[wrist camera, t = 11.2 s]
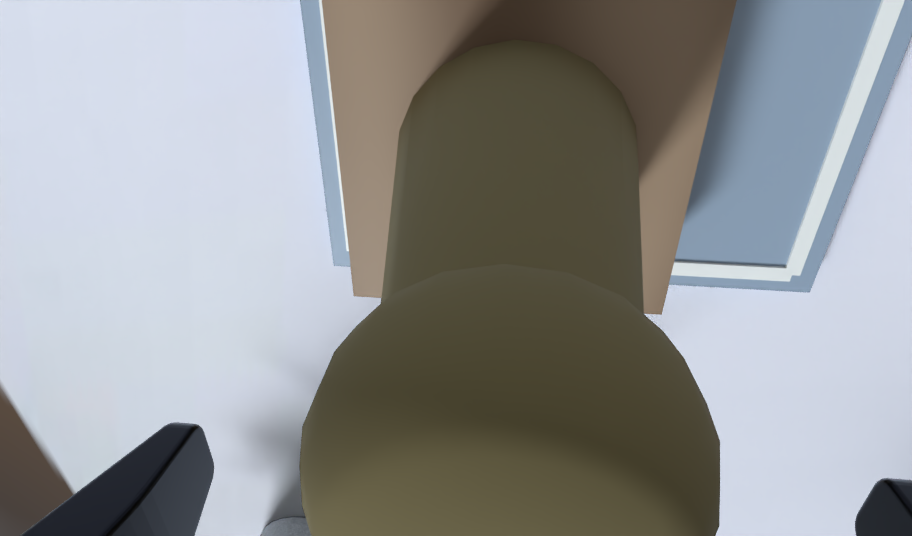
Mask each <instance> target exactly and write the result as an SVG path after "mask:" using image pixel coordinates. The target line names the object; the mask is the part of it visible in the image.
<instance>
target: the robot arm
mask: <svg viewBox="0 0 912 536" xmlns="http://www.w3.org/2000/svg"><path fill="white" fill-rule="evenodd" d="M213 474H214V463H213V459H212V456H211V452H210V449H209V446H208V443H207V440H206V437H205V434H204V431H203V429H202V428H201V427H200V426H199V425H197V424H189V423H170V424H168V425H166V426H164V427H163V428H162V429H160V430H159V431H158V432H156V433H155V434H154V435H152V436H151V437H150V438H148V439H147V440H146V441H144V442H143V443H142V444H140V445H139V446H138V447H136V448H135V449H134V450H132V451H131V452H130V453H128V454H127V455H126V456H124V457H123V458H122V459H121V460H119V461H118V462H117V463H115V464H114V465H113V466H111V467H110V468H109V469H107V470H106V471H105V472H103V473H102V474H101V475H99V476H98V477H97V478H95V479H94V480H93V481H91V482H90V483H89V484H87V485H86V486H85V487H83V488H82V489H81V490H80V491H78V492H77V493H76V494H74V495H73V496H72V497H70V498H69V499H68V500H66V501H65V502H64V503H62V504H61V505H60V506H58V507H57V508H56V509H54V510H53V511H52V512H50V513H49V514H48V515H46V516H45V517H44V518H43V519H41V520H40V521H39V522H37V523H36V524H35V525H33V526H32V527H31V528H29V529H28V530H27V531H25V532H24V533H23V534H21V535H20V536H194V535H195V532H196V529H197V526H198V523H199V520H200V517H201V513H202V510H203V507H204V504H205V501H206V498H207V495H208V492H209V488H210V485H211V482H212V479H213ZM855 531H856V536H912V480H902V479H890V478H884V479H881V480H879V481H878V482H877V483H876V484H875V485H874V487H873V489H872V490H871V492H870V494H869V495H868V497H867V499H866V500H865V502H864V504H863V505H862V507H861V509H860V510H859V512H858V514H857V517H856V521H855Z"/></svg>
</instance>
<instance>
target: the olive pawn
mask: <svg viewBox="0 0 912 536" xmlns="http://www.w3.org/2000/svg"><path fill="white" fill-rule="evenodd" d="M300 481H301V496H302V507H303V510H304V514H305V517H306V520H307V523H308V527H309V530H310V533H311V536H715V535H716V532H717V530H718V527H719V505H720V440H719V438H718V435H717V432H716V429H715V426H714V423H713V420H712V418H711V415H710V412H709V409H708V406H707V403H706V401H705V399H704V397H703V395H702V393H701V391H700V389H699V387H698V385H697V383H696V381H695V379H694V377H693V375H692V373H691V371H690V369H689V367H688V365H687V363H686V361H685V359H684V358H683V356H682V355H681V354H680V353H679V351H678V350H677V349H676V347H675V346H674V345H673V343H672V342H671V341H670V340H669V338H668V337H667V336H666V334H665V333H664V332H663V331H662V330H661V329H660V328H659V327H658V326H656V325H655V324H654V323H653V322H652V321H651V320H650V319H648V318H647V317H646V316H645V315H644V299H643V273H642V248H641V222H640V196H639V170H638V151H637V135H636V125H635V122H634V120H633V118H632V116H631V113H630V111H629V109H628V107H627V104H626V102H625V100H624V97H623V95H622V93H621V91H620V90H619V89H618V88H617V87H616V86H615V85H614V84H613V83H612V82H611V81H610V80H609V79H608V78H607V77H606V76H605V75H604V73H603V72H602V71H601V70H600V69H599V68H598V67H597V66H596V65H595V64H594V63H592V62H590V61H588V60H586V59H584V58H582V57H580V56H578V55H576V54H574V53H572V52H570V51H568V50H566V49H564V48H562V47H560V46H558V45H554V44H546V43H538V42H530V41H522V40H510V41H505V42H500V43H495V44H490V45H485V46H480V47H475V48H472V49H471V50H469V51H467V52H465V53H464V54H462V55H460V56H458V57H457V58H455V59H453V60H451V61H450V62H448V63H446V64H444V65H443V66H441V67H439V68H438V69H437V70H436V71H435V72H434V74H433V75H432V76H431V77H430V78H429V79H428V80H427V82H426V83H425V84H424V85H423V86H422V87H421V88H420V89H419V91H418V92H417V93H416V94H415V95H414V96H413V98H412V101H411V103H410V106H409V108H408V110H407V113H406V115H405V118H404V120H403V123H402V125H401V128H400V130H399V139H398V148H397V157H396V167H395V176H394V185H393V195H392V204H391V214H390V223H389V232H388V242H387V251H386V260H385V270H384V279H383V288H382V298H381V304H380V305H379V306H378V307H377V308H376V309H375V310H374V311H373V312H371V313H370V314H369V315H368V316H367V317H366V318H365V319H364V320H363V321H362V322H361V323H360V324H358V325H357V326H356V327H355V329H354V330H353V331H352V332H351V333H350V334H349V335H348V337H347V338H346V339H345V340H344V341H343V342H342V344H341V345H340V346H339V347H338V348H337V349H336V351H335V352H334V354H333V356H332V359H331V361H330V363H329V365H328V368H327V370H326V372H325V374H324V377H323V379H322V381H321V384H320V386H319V388H318V390H317V393H316V395H315V397H314V400H313V402H312V405H311V407H310V410H309V412H308V414H307V417H306V419H305V422H304V424H303V427H302V439H301V452H300Z"/></svg>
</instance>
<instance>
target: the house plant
mask: <svg viewBox="0 0 912 536" xmlns="http://www.w3.org/2000/svg"><path fill="white" fill-rule="evenodd" d="M260 536H311V533H310V530H309V527H308V523H307V520H306V518H302V517H290V518H282V519H279V520H276V521H273V522H271V523H270V524H269V525H267V526H266V527H265V529H264V530H263V532H262V534H261V535H260Z"/></svg>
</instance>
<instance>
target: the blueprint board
mask: <svg viewBox="0 0 912 536" xmlns="http://www.w3.org/2000/svg"><path fill="white" fill-rule="evenodd" d="M300 4H301V12H302V20H303V27H304V35H305V43H306V51H307V59H308V67H309V75H310V83H311V91H312V98H313V106H314V114H315V122H316V130H317V138H318V146H319V154H320V161H321V169H322V177H323V185H324V193H325V201H326V209H327V217H328V225H329V232H330V240H331V248H332V256H333V264H334V266H348V267H351V266H350V256H349V247H348V238H347V229H346V220H345V210H344V201H343V192H342V183H341V174H340V164H339V155H338V146H337V137H336V128H335V118H334V109H333V100H332V91H331V82H330V72H329V63H328V54H327V45H326V36H325V26H324V17H323V8H322V0H300ZM911 36H912V0H737V1H736V6H735V10H734V14H733V18H732V22H731V27H730V31H729V35H728V39H727V43H726V47H725V52H724V56H723V60H722V64H721V68H720V72H719V77H718V81H717V85H716V89H715V93H714V98H713V102H712V106H711V110H710V114H709V118H708V123H707V127H706V131H705V135H704V139H703V143H702V148H701V152H700V156H699V160H698V164H697V168H696V173H695V177H694V181H693V185H692V189H691V194H690V198H689V202H688V206H687V210H686V214H685V219H684V223H683V227H682V231H681V235H680V239H679V244H678V248H677V252H676V256H675V260H674V265H673V269H672V273H671V277H670V281H669V285H686V286H704V287H721V288H739V289H757V290H775V291H792V292H810V290H811V288H812V285H813V283H814V280H815V278H816V275H817V273H818V270H819V268H820V265H821V263H822V260H823V257H824V255H825V252H826V250H827V247H828V245H829V242H830V240H831V237H832V235H833V232H834V230H835V227H836V225H837V222H838V220H839V217H840V215H841V212H842V210H843V207H844V205H845V202H846V200H847V197H848V195H849V192H850V190H851V187H852V185H853V182H854V180H855V177H856V175H857V172H858V170H859V167H860V165H861V162H862V160H863V157H864V154H865V152H866V149H867V147H868V144H869V142H870V139H871V137H872V134H873V132H874V129H875V127H876V124H877V122H878V119H879V117H880V114H881V112H882V109H883V107H884V104H885V102H886V99H887V97H888V94H889V92H890V89H891V87H892V84H893V82H894V79H895V77H896V74H897V72H898V69H899V67H900V64H901V62H902V59H903V57H904V54H905V51H906V49H907V46H908V44H909V41H910V39H911Z"/></svg>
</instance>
